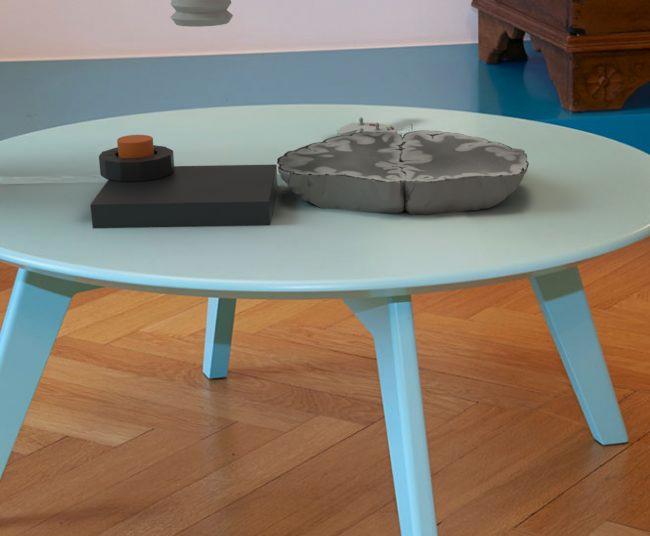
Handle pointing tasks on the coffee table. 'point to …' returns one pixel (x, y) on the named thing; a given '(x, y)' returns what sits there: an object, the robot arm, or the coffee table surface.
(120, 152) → the button
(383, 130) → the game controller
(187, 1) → the rook chess piece
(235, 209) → the scale
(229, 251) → the coffee table surface
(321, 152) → the brain slice
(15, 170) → the coffee table surface
